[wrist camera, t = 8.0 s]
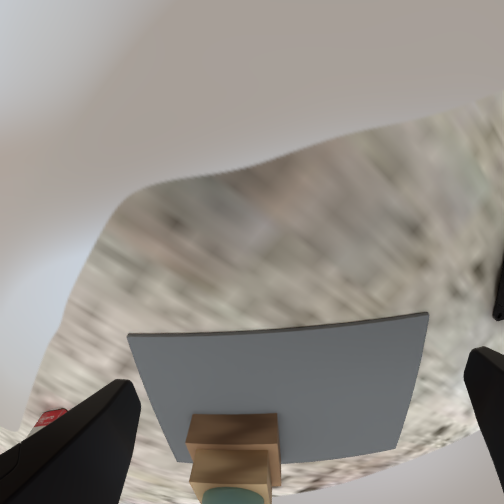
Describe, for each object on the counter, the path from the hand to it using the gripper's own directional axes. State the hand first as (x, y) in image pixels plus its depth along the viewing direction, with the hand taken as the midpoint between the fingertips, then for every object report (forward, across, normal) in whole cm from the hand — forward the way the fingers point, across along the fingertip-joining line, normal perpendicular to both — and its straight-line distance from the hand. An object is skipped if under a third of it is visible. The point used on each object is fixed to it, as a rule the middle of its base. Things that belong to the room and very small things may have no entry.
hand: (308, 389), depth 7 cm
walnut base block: (+13, +5, +18) cm, 22 cm away
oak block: (+9, +5, +18) cm, 21 cm away
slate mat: (+13, +1, +14) cm, 19 cm away
